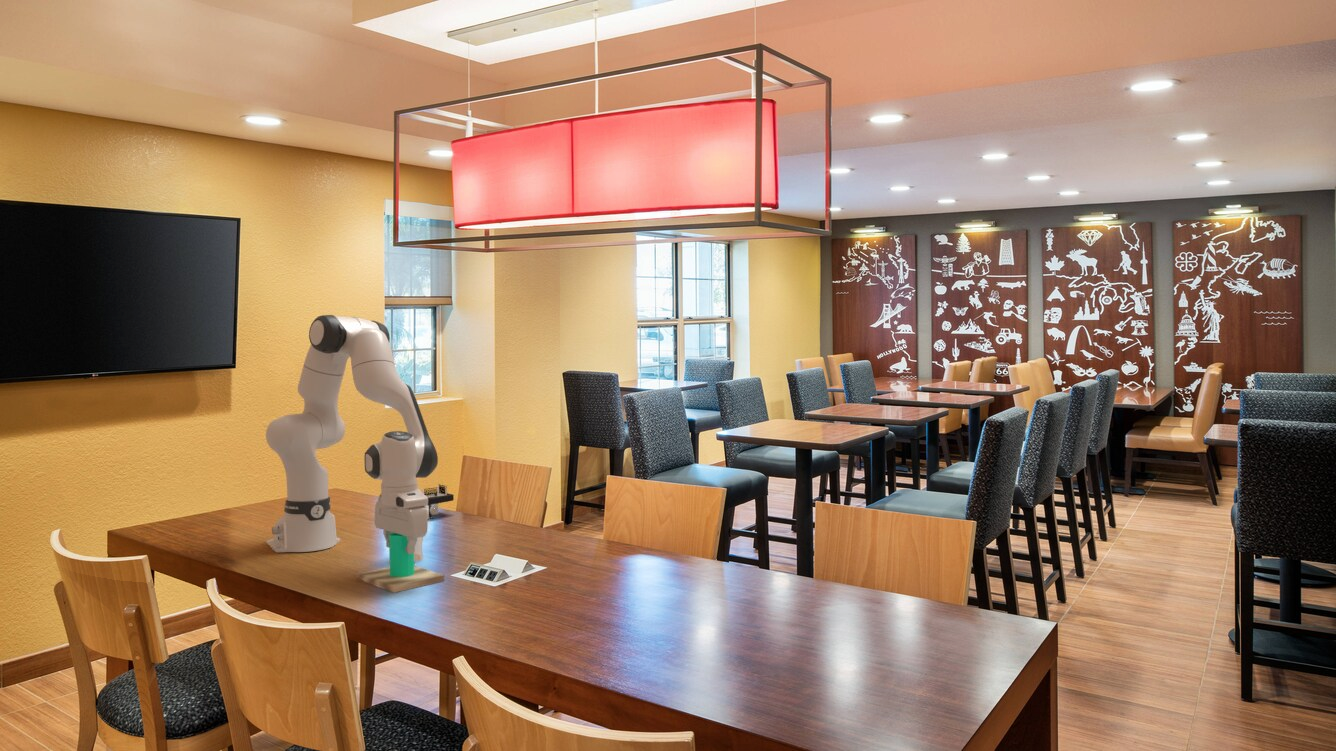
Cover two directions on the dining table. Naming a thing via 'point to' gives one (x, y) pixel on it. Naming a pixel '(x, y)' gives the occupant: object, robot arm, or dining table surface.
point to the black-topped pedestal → (436, 499)
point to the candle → (400, 556)
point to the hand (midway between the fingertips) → (400, 550)
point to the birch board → (400, 579)
